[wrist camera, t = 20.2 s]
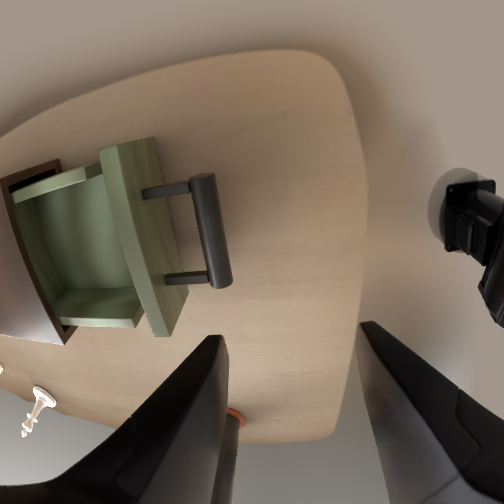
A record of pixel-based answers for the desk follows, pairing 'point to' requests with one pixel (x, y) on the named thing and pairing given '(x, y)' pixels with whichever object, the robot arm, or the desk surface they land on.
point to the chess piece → (37, 408)
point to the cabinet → (24, 270)
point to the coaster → (238, 416)
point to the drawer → (118, 239)
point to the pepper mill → (226, 462)
